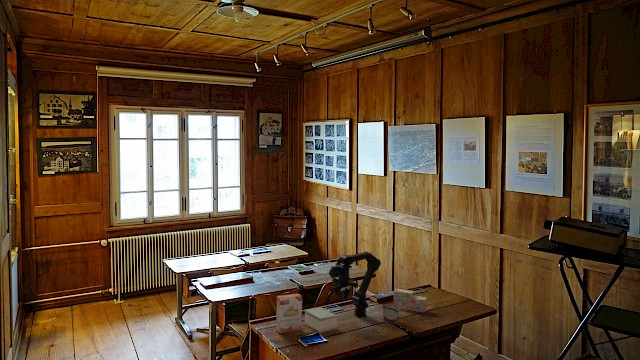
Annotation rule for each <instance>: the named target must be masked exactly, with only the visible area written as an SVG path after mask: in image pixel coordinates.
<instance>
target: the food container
mask: <svg viewBox="0 0 640 360" xmlns="http://www.w3.org/2000/svg"><path fill="white" fill-rule="evenodd" d="M381 309H382V316H383V317H382V319H383V320H382V321H383V322H385V321H387V322H386V323H388V322H390V323H389V324H391V323H393V324H392V325H394V324H397V325H398V322H399V314H400V312H401V309H399V307H398V306H396V305H394V304H390V303H389V304H387V303H386V304H382V307H381Z"/></svg>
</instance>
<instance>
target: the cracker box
mask: <svg viewBox="0 0 640 360" xmlns="http://www.w3.org/2000/svg"><path fill="white" fill-rule="evenodd" d="M302 310H303V296H302V295H301V294H300V293H292V294H284V295H276V322H275V323H276V324H275V325H276V327H275V329H276V332H278V334H285V333H286V334H287V333H292V332H299V331H302V316H303V315H302V314H303V313H302V312H303V311H302Z"/></svg>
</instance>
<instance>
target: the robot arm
mask: <svg viewBox="0 0 640 360" xmlns="http://www.w3.org/2000/svg"><path fill="white" fill-rule="evenodd" d="M363 260H365V261H366V262H367V263H366V267H367V268H366V272H365V274H364V276H363V279H362V280H361V283H360V286H359V283H358V282H356V281H354V280H352V281H350V280H351V279H352V278H351V277H350V269H352V268H353V266H352V265H353V263H355V262H360V261H363ZM381 264H382V262H381V259H379V258H377V257H376V256H375V255H373V253H372V252H369V251H363V252H359V253H355V254H341V255H340V256H339V258H338V259H337V261H336V263H335V266H334V265H333V266H331V267H330V269H329V271H328V275H329V277H330V278H331V283H332V284H333V285H330V286H329V290H330V291H331V292H334V293H339V292H340V294H341V298H342V300H343V301H345V300H347V297H348V295H349V294H350V292H351V291H352V289H351V288H352V287H353V288H354V289H357V288H359V289H358V290H357V291H356V290H355V291H354V292H353V295H352V296H351V300H352V301H351V302H352V304H353V306H355V307H354V316H355V317H356V318H357V319H358V318H359V319H360V318H367V309H368V308H369V303H368V302H367V301H366V300H367V292H368V289H369V286H370V284H371V281H372V279H373V277H374V274H375V273H376V272H377V271H378V270H379V268H380V267H381Z"/></svg>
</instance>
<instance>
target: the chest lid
mask: <svg viewBox="0 0 640 360" xmlns="http://www.w3.org/2000/svg"><path fill="white" fill-rule="evenodd" d="M304 312H305V313H308V314H310V315H312V316H313V317H315V318H317V319H319V320H323V319H329V318H334V317H337V318H338V315H337V314H335V313H334V312H331V311H328V310H327V309H325V308H323V307H315V308H314V307H313V308H309V309H304Z"/></svg>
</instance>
